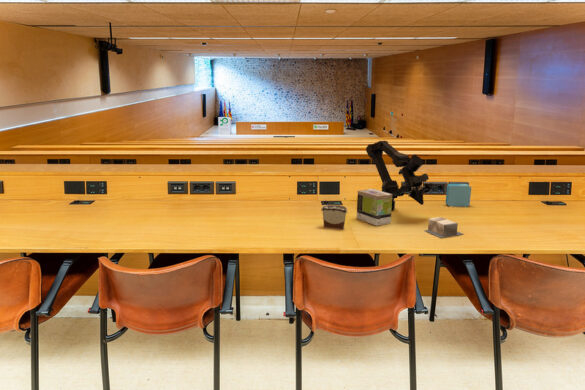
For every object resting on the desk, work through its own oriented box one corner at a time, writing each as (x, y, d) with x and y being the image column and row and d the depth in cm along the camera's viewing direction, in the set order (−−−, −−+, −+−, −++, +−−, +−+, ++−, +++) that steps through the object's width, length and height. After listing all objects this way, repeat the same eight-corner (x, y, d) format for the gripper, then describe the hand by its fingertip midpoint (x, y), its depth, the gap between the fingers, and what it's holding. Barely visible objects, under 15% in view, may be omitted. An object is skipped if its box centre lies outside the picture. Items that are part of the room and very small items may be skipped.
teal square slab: (467, 204, 253) (469, 184, 250) (469, 207, 248) (471, 185, 245) (445, 204, 253) (447, 183, 250) (447, 206, 249) (449, 185, 246)
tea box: (391, 223, 218) (393, 193, 215) (375, 226, 213) (377, 196, 210) (371, 215, 231) (372, 187, 227) (355, 218, 226) (356, 189, 222)
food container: (349, 226, 214) (350, 205, 211) (346, 230, 208) (347, 209, 206) (324, 223, 218) (324, 203, 215) (320, 227, 212) (321, 206, 210)
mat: (424, 231, 207) (424, 230, 207) (446, 227, 212) (446, 226, 212) (441, 238, 197) (441, 237, 197) (463, 234, 203) (463, 233, 202)
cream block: (428, 218, 208) (445, 225, 198) (440, 216, 211) (457, 223, 201) (427, 228, 209) (444, 236, 199) (439, 227, 212) (456, 234, 202)
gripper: (401, 169, 213) (415, 198, 206) (433, 166, 220) (447, 193, 213) (391, 182, 222) (403, 209, 215) (421, 178, 229) (434, 205, 223)
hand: (422, 204), depth 217 cm, fingers closed
